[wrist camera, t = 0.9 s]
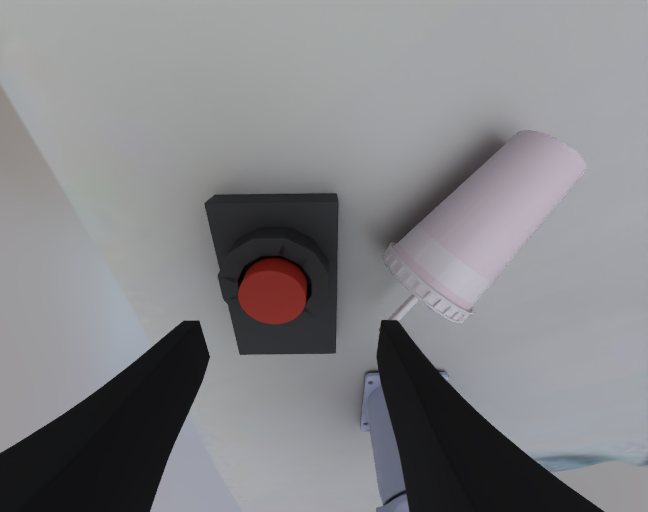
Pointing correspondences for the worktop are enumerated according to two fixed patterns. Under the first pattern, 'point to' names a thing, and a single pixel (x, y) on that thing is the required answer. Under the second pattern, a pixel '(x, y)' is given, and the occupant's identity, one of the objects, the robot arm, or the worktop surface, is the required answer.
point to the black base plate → (287, 243)
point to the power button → (273, 291)
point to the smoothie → (482, 225)
